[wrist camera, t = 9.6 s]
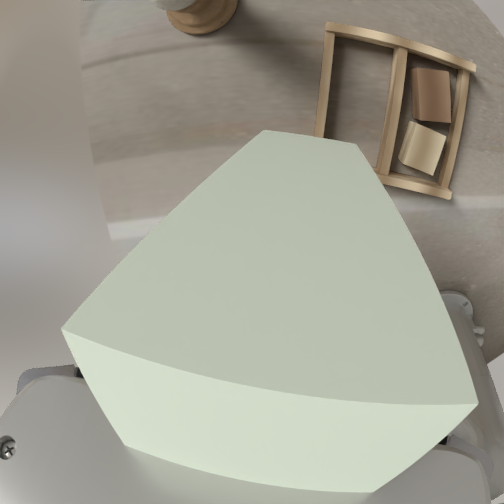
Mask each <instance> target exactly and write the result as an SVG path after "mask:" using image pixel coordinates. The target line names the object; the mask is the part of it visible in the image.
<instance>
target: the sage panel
mask: <svg viewBox="0 0 504 504" xmlns="http://www.w3.org/2000/svg"><path fill="white" fill-rule="evenodd" d="M61 330H62V332H63V335H64V337H65V339H66V342H67V344H68V346H69V348H70V350H71V352H72V354H73V357H74V359H75V361H76V363H77V365H78V367H79V369H80V371H81V373H82V375H83V377H84V378H85V380H86V382H87V384H88V386H89V388H90V390H91V391H92V393H93V395H94V397H95V399H96V400H97V402H98V404H99V405H100V407H101V409H102V411H103V412H104V414H105V415H106V417H107V419H108V420H109V422H110V424H111V425H112V427H113V428H114V430H115V431H116V433H117V434H118V436H119V437H120V439H121V440H122V442H123V443H124V445H126V446H129V447H131V448H134V449H136V450H139V451H142V452H144V453H147V454H150V455H153V456H156V457H158V458H161V459H164V460H167V461H170V462H174V463H177V464H180V465H183V466H187V467H190V468H194V469H197V470H201V471H205V472H209V473H213V474H217V475H221V476H225V477H230V478H234V479H239V480H244V481H249V482H255V483H261V484H267V485H273V486H280V487H287V488H296V489H305V490H317V491H332V492H374V491H376V490H377V489H379V488H380V487H382V486H383V485H385V484H386V483H388V482H389V481H390V480H392V479H393V478H395V477H396V476H397V475H399V474H400V473H402V472H403V471H404V470H406V469H407V468H408V467H410V466H411V465H412V464H413V463H415V462H416V461H417V460H418V459H420V458H421V457H422V456H423V455H425V454H426V453H427V452H428V451H429V450H431V449H432V448H433V447H434V446H435V445H436V444H438V443H439V442H440V441H441V440H442V439H443V438H444V437H445V436H447V435H448V434H449V433H450V432H451V431H452V430H453V429H454V428H455V427H456V426H457V425H458V424H459V423H460V422H461V421H462V420H463V419H464V418H465V417H466V416H467V415H468V414H469V413H470V412H471V411H472V410H473V409H474V408H475V407H476V406H477V405H478V404H479V402H478V399H477V395H476V392H475V388H474V385H473V381H472V378H471V375H470V372H469V369H468V366H467V363H466V360H465V357H464V354H463V351H462V348H461V345H460V343H459V340H458V337H457V335H456V332H455V329H454V327H453V324H452V322H451V319H450V317H449V314H448V312H447V309H446V307H445V305H444V302H443V300H442V298H441V295H440V293H439V291H438V288H437V286H436V284H435V282H434V280H433V278H432V275H431V273H430V271H429V269H428V267H427V265H426V263H425V261H424V259H423V257H422V255H421V253H420V251H419V249H418V247H417V245H416V243H415V241H414V239H413V237H412V235H411V233H410V232H409V230H408V228H407V226H406V224H405V222H404V221H403V219H402V217H401V215H400V213H399V212H398V210H397V208H396V206H395V205H394V203H393V201H392V200H391V198H390V196H389V195H388V193H387V191H386V190H385V188H384V186H383V185H382V183H381V181H380V180H379V178H378V177H377V175H376V173H375V172H374V170H373V169H372V167H371V166H370V164H369V163H368V161H367V160H366V158H365V157H364V155H363V154H362V152H361V151H360V149H359V148H358V146H357V145H356V144H353V143H348V142H343V141H337V140H331V139H326V138H319V137H313V136H307V135H300V134H293V133H285V132H277V131H269V130H263V131H262V132H261V133H259V134H258V135H257V136H256V137H254V138H253V139H252V140H251V141H250V142H248V143H247V144H246V145H245V146H244V147H242V148H241V149H240V150H239V151H238V152H237V153H235V154H234V155H233V156H232V157H231V158H230V159H228V160H227V161H226V162H225V163H224V164H223V165H221V166H220V167H219V168H218V169H217V170H216V171H215V172H214V173H212V174H211V175H210V176H209V177H208V178H207V179H206V180H205V181H203V182H202V183H201V184H200V185H199V186H198V187H197V188H196V189H195V190H194V191H192V192H191V193H190V194H189V195H188V196H187V197H186V198H185V199H184V200H183V201H182V202H181V203H180V204H178V205H177V206H176V207H175V208H174V209H173V210H172V211H171V212H170V213H169V214H168V215H167V216H166V217H165V218H164V219H163V220H162V221H161V222H160V223H159V224H158V225H157V226H156V227H155V228H154V229H153V230H152V231H151V232H150V233H149V234H147V235H146V236H145V237H144V238H143V239H142V241H141V242H140V243H139V244H138V245H137V246H136V247H135V248H134V249H133V250H132V251H131V252H130V253H129V254H128V255H127V256H126V257H125V258H124V259H123V260H122V261H121V262H120V263H119V264H118V265H117V266H116V267H115V269H114V270H113V271H112V272H111V273H110V274H109V275H108V276H107V277H106V278H105V279H104V280H103V281H102V283H101V284H100V285H99V286H98V287H97V288H96V289H95V290H94V291H93V292H92V293H91V295H90V296H89V297H88V298H87V299H86V300H85V301H84V302H83V304H82V305H81V306H80V307H79V308H78V309H77V311H76V312H75V313H74V314H73V315H72V316H71V317H70V319H69V320H68V321H67V322H66V323H65V325H64V326H63V327H62V328H61Z"/></svg>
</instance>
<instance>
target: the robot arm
mask: <svg viewBox="0 0 504 504" xmlns="http://www.w3.org/2000/svg"><path fill="white" fill-rule="evenodd" d="M439 293H440V295H441V298H442V300H443V302H444V305H445V307H446V309H447V312H448V314H449V317H450V319H451V322H452V324H453V327H454V329H455V332H456V335H457V337H458V340H459V343H460V345H461V348H462V351H463V354H464V357H465V360H466V363H467V366H468V369H469V372H470V375H471V378H472V381H473V385H474V388H475V392H476V395H477V399H478V402H479V404H478V405H477V406H476V407H475V408H474V409H473V410H472V411H471V412H470V413H469V414H468V415H467V416H466V417H465V418H464V419H463V420H462V421H461V422H460V423H459V424H458V425H457V426H456V427H455V428H454V429H453V430H452V431H451V432H450V433H449V434H448V435H447V436H445V437H444V438H443V439H442V440H441V441H440V442H439V443H438V444H436V445H435V446H434V447H433V448H432V449H431V450H429V451H428V452H427V453H426V454H425V455H423V456H422V457H421V458H420V459H418V460H417V461H416V462H415V463H413V464H412V465H411V466H410V467H408V468H407V469H406V470H404V471H403V472H402V473H400V474H399V475H397V476H396V477H395V478H393V479H392V480H390V481H389V482H388V483H386V484H385V485H383V486H382V487H380V488H379V489H377V490H376V491H374V492H332V491H317V490H305V489H296V488H287V487H280V486H273V485H267V484H261V483H255V482H249V481H244V480H239V479H234V478H230V477H225V476H221V475H217V474H213V473H209V472H205V471H201V470H197V469H194V468H190V467H187V466H183V465H180V464H177V463H174V462H170V461H167V460H164V459H161V458H158V457H156V456H153V455H150V454H147V453H144V452H142V451H139V450H136V449H134V448H131V447H129V446H126V445H124V443H123V442H122V440H121V439H120V437H119V436H118V434H117V433H116V431H115V430H114V428H113V427H112V425H111V424H110V422H109V420H108V419H107V417H106V415H105V414H104V412H103V411H102V409H101V407H100V405H99V404H98V402H97V400H96V399H95V397H94V395H93V393H92V391H91V390H90V388H89V386H88V384H87V382H86V380H85V378H84V377H83V375H82V373H81V371H80V369H79V367H75V366H74V364H73V365H64V366H56V367H45V368H33V369H29V370H26V371H25V372H23V373H22V375H21V376H20V378H19V381H18V386H17V396H16V397H15V398H14V400H13V401H12V402H11V403H10V405H9V406H8V407H7V409H6V410H5V412H4V413H3V415H2V416H1V418H0V504H491V500H493V499H495V498H497V497H498V496H500V495H501V494H503V493H504V412H503V409H502V407H501V404H500V401H499V398H498V395H497V392H496V389H495V386H494V383H493V380H492V378H491V375H490V372H489V369H488V366H487V364H486V361H485V358H484V356H483V353H482V351H481V348H480V346H482V345H483V341H484V339H483V336H477V335H475V333H476V334H483V333H484V331H485V327H484V326H475V324H474V322H473V320H472V318H473V307H472V304H471V302H470V300H469V299H468V298H467V296H465V295H464V294H463V293H460V292H458V291H452V290H450V291H441V292H439ZM500 504H504V503H500Z"/></svg>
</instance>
